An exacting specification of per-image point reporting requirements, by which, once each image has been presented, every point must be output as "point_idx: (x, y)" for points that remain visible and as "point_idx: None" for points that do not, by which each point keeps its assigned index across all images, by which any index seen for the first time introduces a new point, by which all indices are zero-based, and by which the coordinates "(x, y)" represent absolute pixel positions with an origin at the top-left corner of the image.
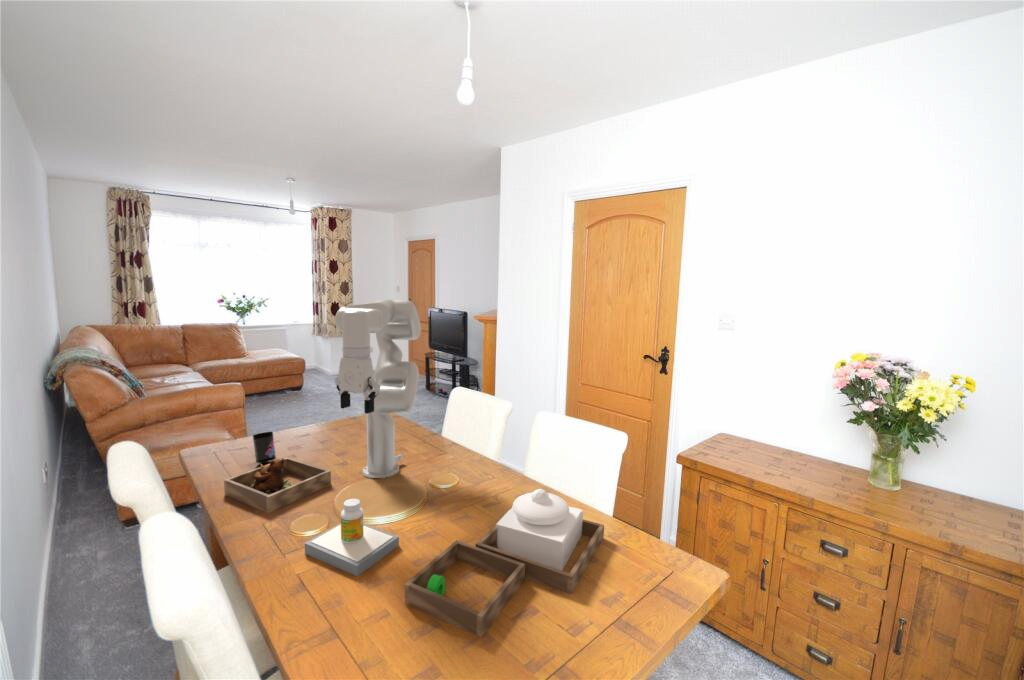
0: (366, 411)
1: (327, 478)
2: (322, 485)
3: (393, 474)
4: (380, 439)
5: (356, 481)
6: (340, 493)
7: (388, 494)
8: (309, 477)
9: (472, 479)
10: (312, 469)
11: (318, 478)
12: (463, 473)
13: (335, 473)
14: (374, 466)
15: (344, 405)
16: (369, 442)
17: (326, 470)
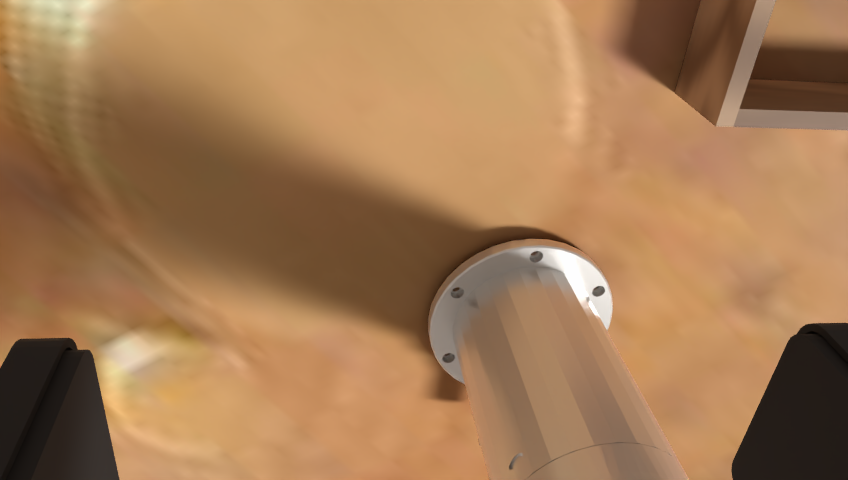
0: (3, 380)
1: (703, 86)
2: (700, 40)
3: (429, 315)
4: (535, 432)
5: (570, 187)
6: (560, 41)
7: (311, 159)
8: (832, 86)
9: None
10: (842, 106)
11: (736, 29)
12: (155, 476)
13: (731, 200)
14: (524, 295)
15: (808, 403)
16: (607, 390)
17: (741, 115)
